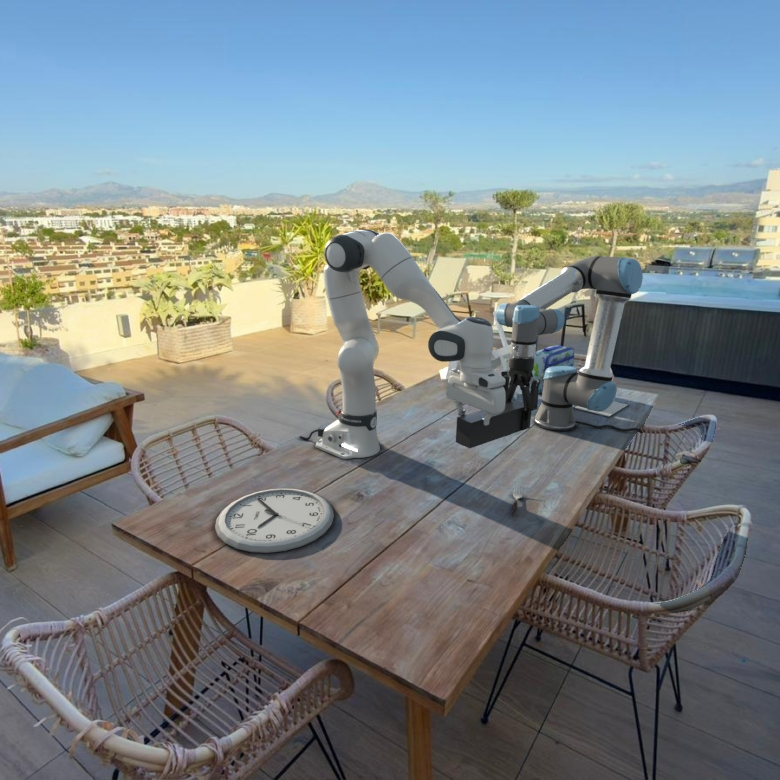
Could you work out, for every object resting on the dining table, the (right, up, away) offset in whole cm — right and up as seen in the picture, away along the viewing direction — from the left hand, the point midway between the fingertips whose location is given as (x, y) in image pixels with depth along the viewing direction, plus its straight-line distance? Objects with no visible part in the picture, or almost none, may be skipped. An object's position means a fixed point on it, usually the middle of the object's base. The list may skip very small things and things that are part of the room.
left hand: (473, 420), depth 153 cm
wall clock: (-54, -25, -18) cm, 62 cm away
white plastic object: (+17, +8, +90) cm, 92 cm away
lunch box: (+52, +9, +95) cm, 108 cm away
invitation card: (+67, +1, +73) cm, 99 cm away
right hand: (+16, -3, +14) cm, 22 cm away
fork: (+11, -23, -8) cm, 27 cm away
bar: (+8, -5, +8) cm, 13 cm away
